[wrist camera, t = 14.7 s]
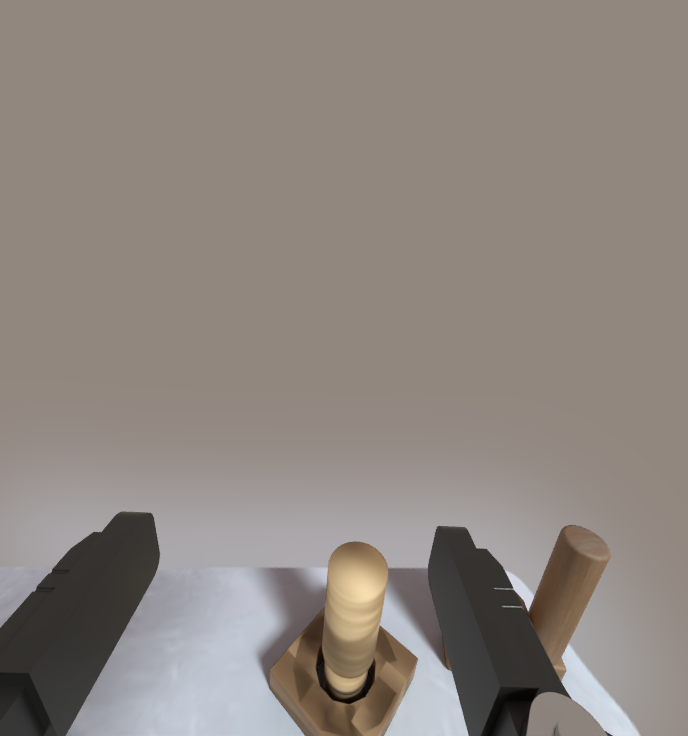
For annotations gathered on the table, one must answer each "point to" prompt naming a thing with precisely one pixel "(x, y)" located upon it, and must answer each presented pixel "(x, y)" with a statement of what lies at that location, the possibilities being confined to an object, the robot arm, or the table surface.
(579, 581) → the wooden block
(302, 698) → the square wooden ring
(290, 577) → the table surface
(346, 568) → the oak leg
